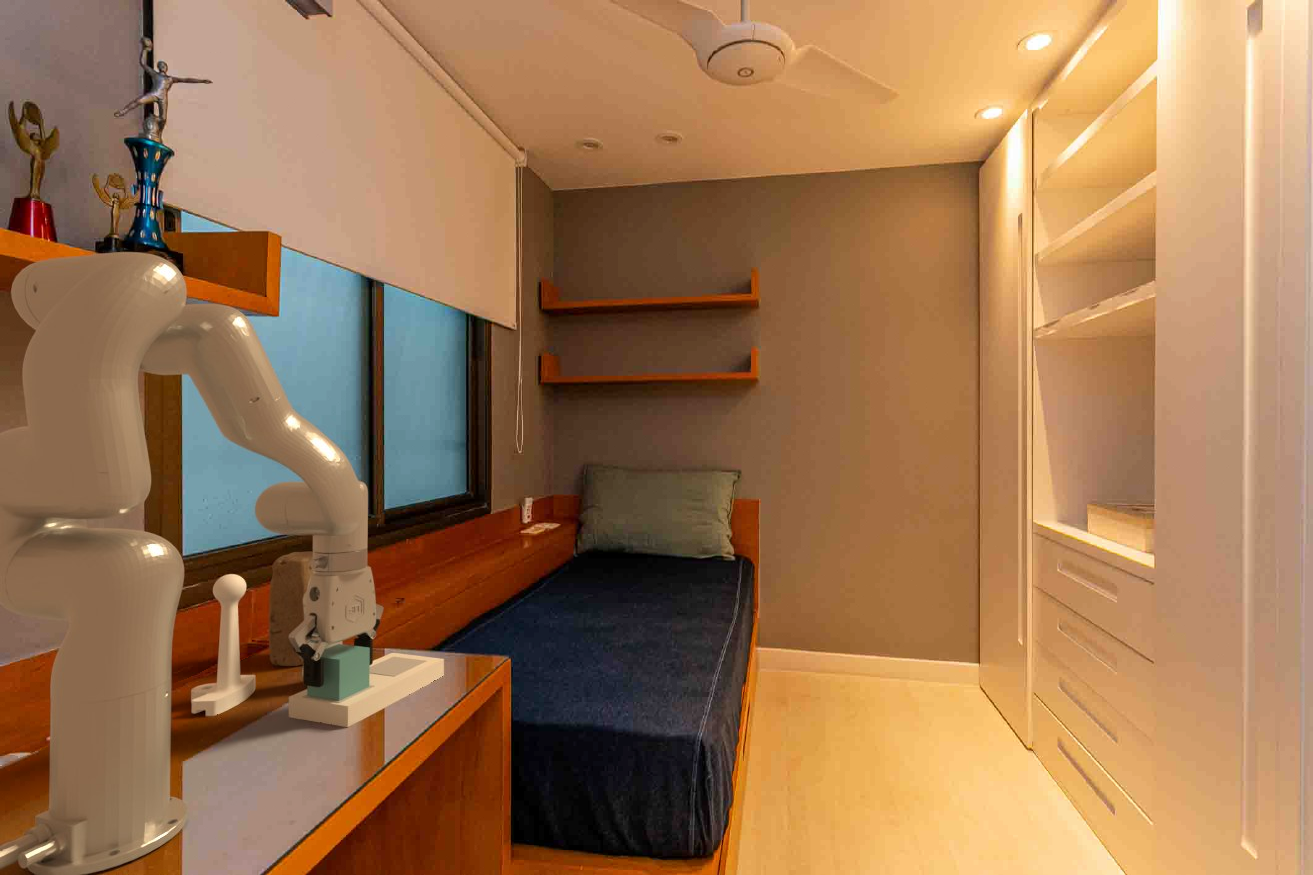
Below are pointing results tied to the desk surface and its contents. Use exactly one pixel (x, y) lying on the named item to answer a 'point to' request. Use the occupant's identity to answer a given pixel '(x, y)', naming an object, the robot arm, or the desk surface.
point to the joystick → (226, 655)
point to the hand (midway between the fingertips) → (339, 674)
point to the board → (371, 690)
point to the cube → (343, 672)
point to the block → (287, 605)
